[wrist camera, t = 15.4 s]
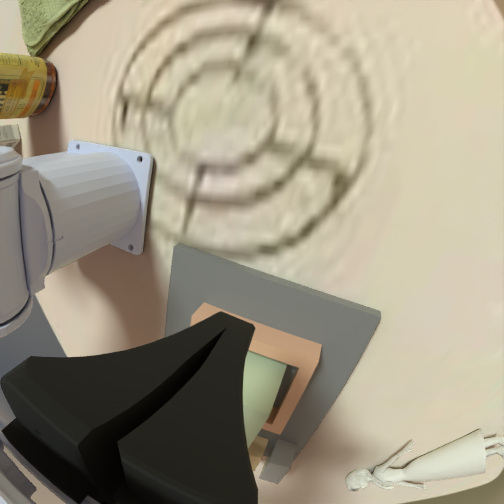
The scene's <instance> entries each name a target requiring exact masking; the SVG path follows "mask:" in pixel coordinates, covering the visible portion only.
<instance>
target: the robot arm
mask: <svg viewBox="0 0 504 504" xmlns="http://www.w3.org/2000/svg"><path fill="white" fill-rule="evenodd" d="M79 146H80V148H79ZM141 156H142V162H141V161H140V157H141ZM152 167H153V156H152V155H151V154H149V153H145V152H140V151H135V150H130V149H125V148H119V147H114V146H108V145H103V144H97V143H91V142H85V141H79V140H70V141H69V143H68V150H67V152H60V153H53V154H47V155H40V156H34V157H28V158H23V159H22V156H21V155H20V154H18V153H17V152H16V151H15V150H14V149H13V148H12V147H7V146H0V338H1V337H3V336H5V335H7V334H9V333H11V332H12V331H13V330H15V329H17V328H18V327H19V326H20V325H21V324H22V323H23V322H24V321H25V320H26V319H27V317H28V316H29V314H30V312H31V309H32V305H33V300H32V295H33V294H35V293H37V292H39V291H40V290H42V289H44V288H45V285H44V279H45V276H47V275H49V274H50V273H52V272H54V271H56V270H58V269H60V268H62V267H64V266H66V265H68V264H70V263H72V262H74V261H76V260H78V259H80V258H82V257H84V256H86V255H88V254H90V253H92V252H94V251H96V250H98V249H100V248H102V247H104V246H106V245H108V244H110V245H112V246H115V247H117V248H120V249H122V250H124V251H127V252H129V253H132V254H134V255H140V254H141V253H142V252H143V246H144V234H145V223H146V214H147V205H148V196H149V189H150V181H151V174H152ZM131 245H132V246H133V248H132V247H131ZM254 331H255V326H254V324H251V323H249V322H246V321H244V320H241V319H239V318H237V317H234V316H232V315H229V314H227V313H225V312H222V311H220V312H217V313H215V314H214V315H212V316H210V317H208V318H206V319H204V320H202V321H200V322H198V323H196V324H194V325H192V326H190V327H188V328H186V329H184V330H182V331H179V332H177V333H175V334H173V335H170V336H168V337H165V338H162V339H160V340H157V341H155V342H152V343H149V344H146V345H143V346H139V347H136V348H132V349H128V350H124V351H119V352H113V353H108V354H102V355H95V356H84V357H65V358H63V357H62V358H60V357H59V358H58V357H57V358H56V357H36V356H31V357H29V358H27V359H26V360H25V361H23V362H22V363H21V364H19V365H18V366H16V367H15V368H14V369H12V370H11V371H10V372H8V373H7V374H6V375H4V376H3V377H2V378H1V381H0V382H1V388H2V390H3V393H4V395H5V397H6V399H7V401H8V403H9V405H10V407H11V409H12V411H13V413H14V415H15V416H16V418H15V419H14V420H13V421H12V422H11V423H9V424H8V423H6V421H5V420H4V419H3V418H2V417H1V416H0V504H36V503H35V502H34V501H32V500H31V498H30V497H31V495H32V494H33V493H34V492H35V491H36V487H35V486H34V485H33V484H32V483H31V482H30V481H29V480H28V479H27V478H26V477H25V476H24V474H23V473H22V472H21V471H20V470H19V469H18V467H17V466H16V465H15V463H14V462H13V461H12V460H11V459H10V458H9V457H8V456H7V454H6V453H5V452H4V451H3V449H4V446H5V447H6V448H7V449H8V450H9V451H10V452H11V453H12V455H13V456H14V457H15V458H16V459H17V460H18V461H19V462H20V463H21V464H22V465H23V466H24V467H25V468H26V469H27V470H28V471H29V472H31V474H33V475H34V476H35V477H36V478H37V479H38V480H39V481H40V482H41V483H42V484H43V485H44V486H46V487H47V488H48V489H49V490H50V491H51V492H53V493H54V494H55V495H56V496H58V497H59V498H60V499H61V500H62V501H64V502H65V503H66V504H258V488H257V485H256V481H255V478H254V474H253V470H252V466H251V462H250V457H249V452H248V447H247V440H246V433H245V425H244V413H243V377H244V366H245V359H246V356H247V353H248V350H249V347H250V344H251V341H252V338H253V334H254ZM3 445H4V446H3Z"/></svg>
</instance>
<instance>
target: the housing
mask: <svg viewBox="0 0 504 504" xmlns="http://www.w3.org/2000/svg"><path fill="white" fill-rule="evenodd" d="M220 311H222V312H225V313H227V314H229V315H232V316H234V317H237V318H239V319H241V320H244V321H246V322H249V323H251V324H254V326H255V331H254V334H253V338H252V341H251V344H250V347H249V350H250V351H252V352H255V353H258V354H261V355H263V356H266V357H269V358H272V359H275V360H278V361H280V362H283V363H286V364H287V367H286V370H285V373H284V376H283V379H282V381H281V384H280V387H279V390H278V393H277V396H276V399H275V401H274V404H273V407H272V410H271V413H270V415H269V417H268V419H267V420H266V422H265V424H264V425H263V427H262V428H261V430H260V431H259V433H258V434H257V436H260V437H263V438H266V439H269V440H268V443H267V446H266V448H265V451H264V454H263V455H264V456H267V458H266V461H265V464H264V466H263V469H262V472H261V474H260V477H259V478H260V479H263V480H266V481H269V482H273V483H276V484H278V483H279V482H280V481H281V480H282V478H283V477H284V476H285V475H286V474H287V472H288V471H289V470H290V468H291V465H292V462H293V461H294V459H295V458H296V457H297V455H298V454H299V453H300V451H301V450H302V448H303V447H304V446H305V444H306V443H307V441H308V440H309V439H310V437H311V436H312V434H313V433H314V431H315V430H316V429H317V427H318V426H319V424H320V423H321V421H322V420H323V418H324V417H325V415H326V413H327V412H328V410H329V409H330V407H331V406H332V404H333V403H334V401H335V399H336V398H337V396H338V395H339V393H340V391H341V390H342V388H343V386H344V385H345V383H346V381H347V380H348V378H349V376H350V374H351V373H352V371H353V369H354V367H355V366H356V364H357V362H358V360H359V359H360V357H361V355H362V353H363V351H364V349H365V348H366V346H367V344H368V342H369V340H370V338H371V336H372V334H373V332H374V330H375V328H376V326H377V324H378V322H379V320H380V318H381V313H380V311H378V310H375V309H372V308H369V307H366V306H363V305H360V304H357V303H354V302H350V301H347V300H344V299H341V298H338V297H335V296H332V295H329V294H326V293H323V292H320V291H317V290H314V289H311V288H308V287H305V286H302V285H299V284H296V283H293V282H290V281H287V280H284V279H281V278H278V277H276V276H273V275H270V274H267V273H264V272H261V271H258V270H255V269H252V268H249V267H246V266H243V265H240V264H237V263H235V262H232V261H229V260H226V259H223V258H220V257H217V256H214V255H211V254H209V253H206V252H203V251H200V250H197V249H194V248H191V247H189V246H186V245H183V244H180V243H179V244H177V245H176V246H174V249H173V257H172V266H171V275H170V284H169V294H168V304H167V315H166V328H165V337H168V336H170V335H173V334H175V333H177V332H179V331H182V330H184V329H186V328H188V327H190V326H192V325H194V324H196V323H198V322H200V321H202V320H204V319H206V318H208V317H210V316H212V315H214V314H215V313H217V312H220Z"/></svg>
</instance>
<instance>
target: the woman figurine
mask: <svg viewBox="0 0 504 504" xmlns="http://www.w3.org/2000/svg"><path fill="white" fill-rule="evenodd" d="M413 443H414V441H411V442H410V443H408V444H407V446H406V447H405V448H403V449H402V450H401V451H400V452H398V453H397V454H396V455H394V456H393V457H391V458H390V459H389V460H388V461H387V462H385V463H384V464H382V465H380V466H376V467H375V470H374V472H373V474H371V473H370V471H368V470H367V469H365V468H361V469H357V470H355V471H352V472H351V473H350V474H348V476H347V478H346V480H345V483H346V486H347V488H348V490H349V491H357V490H358V489H360V488H362V489H364V488H366V487H368V485H369V481H371V482H372V483H374V484H375V485H377V486H379V487H381V488H386V489H393V488H395V487H389V486H392V485H394V484H395V485H400V486H407V487H414V488H418V489H422V490H426V489H424V488H426V486H424V485H422V484H413V483H408V482H406V481H414V482H427V481H437V480H445V479H453V478H459V477H466V476H471V475H477V474H482V473H485V471H486V457H488V456H491V455H494V454H497V453H498V454H499V455H501V456H502V457H503V459H504V435H500V436H497V437H492V438H486V439H484V437H483V434H482V430H481V429H478V430H476V431H474V432H472V433H470V434H468V435H466V436H464V437H462V438H459V439H457V440H455V441H453V442H450V443H448V444H446V445H444V446H442V447H440V448H438V449H436V450H434V451H432V452H429V453H427V454H425V455H423V456H421V457H418V458H417V459H415V460H414V461H412V462H411V463H410V464H409V465H408V466H407V467H405V468H403V469H393V468H389V466H390V465H392V464H393V463H394V462H395V461H396V460H397V459H398V458H399V457H400V456H401V455H402V454H403V453H404V452H410V451H413V450H414V449H411V450H410V447H411V446H413V445H414V444H413ZM496 444H500V445H501V446H499V447H495V448H490V449H485V448H487V447H490V446H493V445H496ZM379 483H380V484H382V485H383V486H385V487H383V486H382V485H380V484H379Z"/></svg>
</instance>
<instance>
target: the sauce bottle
mask: <svg viewBox="0 0 504 504" xmlns="http://www.w3.org/2000/svg"><path fill="white" fill-rule="evenodd" d="M55 88H56V71H55V68H54V65H53V64H52V63H51V62H50V61H47V60H45V59H42V58H39V57H33V56H26V55H16V54H7V53H0V119H12V118H26V117H31V116H35V115H38V114H40V113H41V112H43V111H44V109H46V108H47V106H48V104H49V102H50V100H51V98H52V94H53V93H54V91H55Z"/></svg>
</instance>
